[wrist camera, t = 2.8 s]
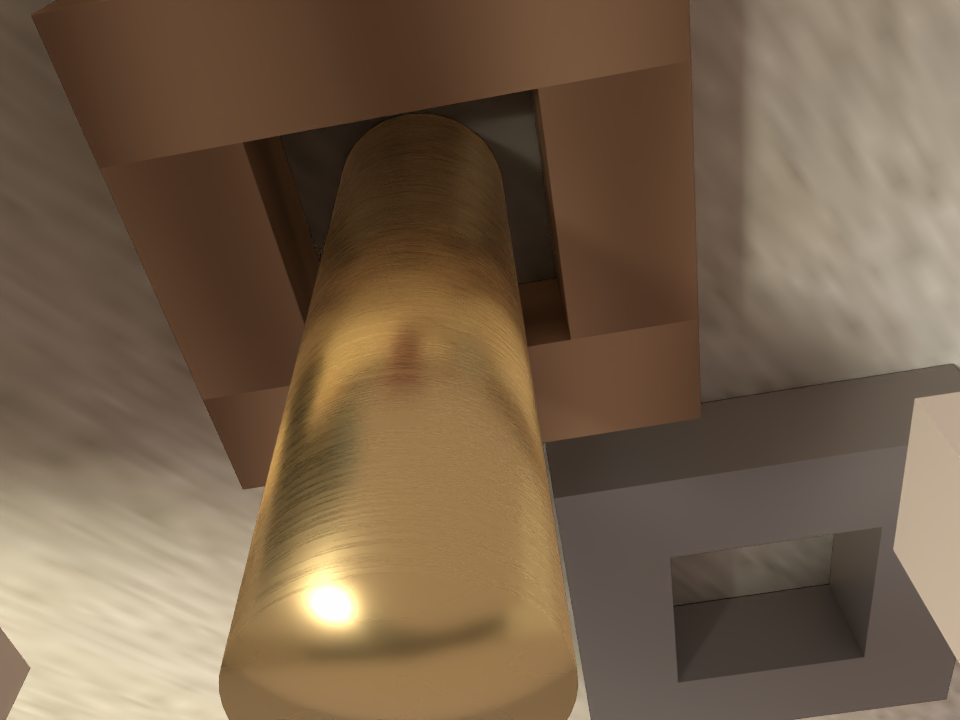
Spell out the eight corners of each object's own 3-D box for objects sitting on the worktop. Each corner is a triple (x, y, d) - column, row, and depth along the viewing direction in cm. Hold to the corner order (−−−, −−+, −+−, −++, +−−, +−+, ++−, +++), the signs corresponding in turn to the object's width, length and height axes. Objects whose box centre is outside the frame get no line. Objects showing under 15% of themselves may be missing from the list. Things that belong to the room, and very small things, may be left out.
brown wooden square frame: (262, 418, 25) (243, 489, 22) (86, -18, 18) (31, 15, 16) (674, 352, 24) (701, 417, 22) (650, -129, 17) (685, -113, 15)
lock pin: (363, 276, 22) (281, 808, 11) (321, 130, 20) (162, 606, 9) (513, 251, 22) (593, 769, 11) (489, 99, 20) (555, 547, 8)
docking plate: (583, 671, 32) (595, 746, 30) (542, 428, 26) (553, 498, 23) (906, 626, 32) (946, 699, 29) (953, 363, 25) (1010, 429, 22)
